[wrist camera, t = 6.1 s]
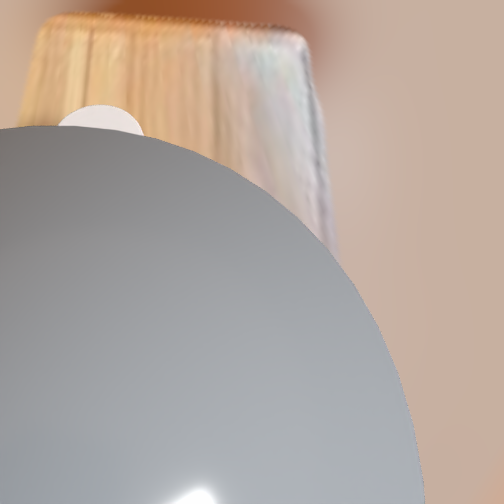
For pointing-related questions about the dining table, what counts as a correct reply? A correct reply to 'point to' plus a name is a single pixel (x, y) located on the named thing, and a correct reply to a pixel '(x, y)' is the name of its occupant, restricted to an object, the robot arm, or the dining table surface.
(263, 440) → the grey cylinder
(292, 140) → the dining table surface
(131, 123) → the pill bottle
